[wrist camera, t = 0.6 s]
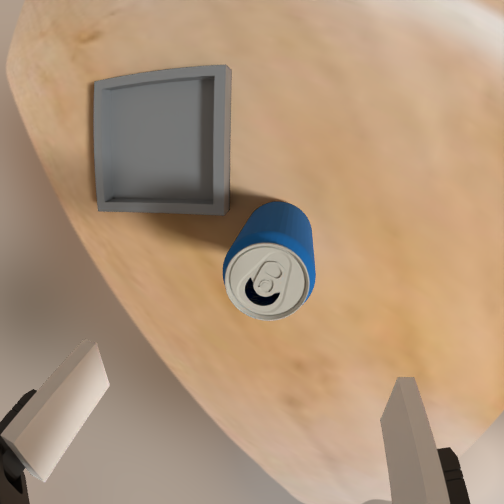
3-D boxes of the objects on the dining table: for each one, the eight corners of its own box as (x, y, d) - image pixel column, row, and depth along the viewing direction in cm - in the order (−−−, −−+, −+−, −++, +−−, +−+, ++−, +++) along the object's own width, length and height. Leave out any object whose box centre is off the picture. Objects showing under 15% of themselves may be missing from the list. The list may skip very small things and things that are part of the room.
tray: (107, 83, 29) (94, 81, 27) (231, 69, 27) (225, 64, 25) (109, 206, 34) (98, 211, 32) (229, 209, 32) (224, 215, 30)
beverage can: (236, 243, 34) (203, 299, 22) (264, 188, 31) (243, 218, 20) (292, 272, 34) (286, 339, 23) (323, 219, 31) (334, 266, 20)
